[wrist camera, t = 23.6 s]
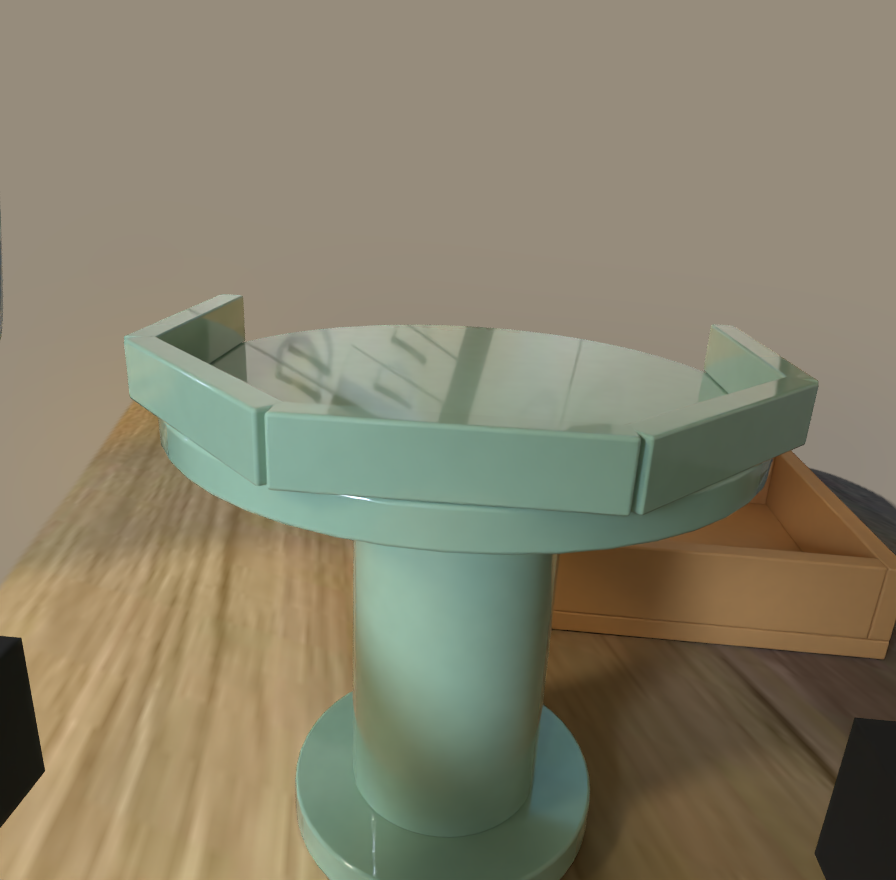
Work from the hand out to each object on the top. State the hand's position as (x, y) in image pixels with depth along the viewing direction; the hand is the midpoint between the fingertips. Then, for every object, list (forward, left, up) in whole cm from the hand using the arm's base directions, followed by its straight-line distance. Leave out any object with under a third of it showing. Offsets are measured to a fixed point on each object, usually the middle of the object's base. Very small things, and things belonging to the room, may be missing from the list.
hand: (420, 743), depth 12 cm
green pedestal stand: (0, +7, -8) cm, 10 cm away
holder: (+6, +21, -8) cm, 23 cm away
